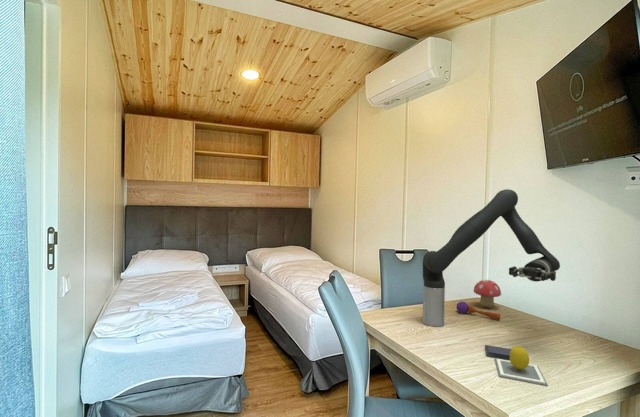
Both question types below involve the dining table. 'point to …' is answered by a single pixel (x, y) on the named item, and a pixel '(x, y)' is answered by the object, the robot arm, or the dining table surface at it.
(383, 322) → the dining table surface
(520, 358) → the lemon
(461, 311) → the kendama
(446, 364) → the dining table surface
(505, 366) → the marked board
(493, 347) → the ink pad
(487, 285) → the decorative mushroom
